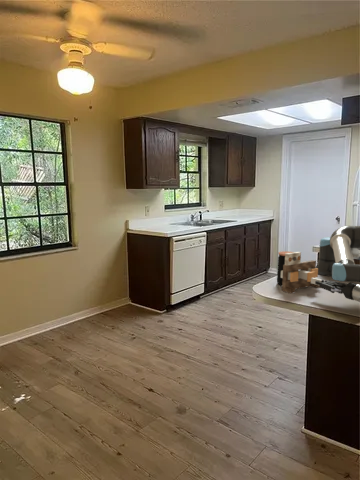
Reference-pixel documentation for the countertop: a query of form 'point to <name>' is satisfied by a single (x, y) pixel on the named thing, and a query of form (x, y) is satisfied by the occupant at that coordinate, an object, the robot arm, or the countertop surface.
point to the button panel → (294, 265)
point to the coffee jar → (281, 265)
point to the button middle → (306, 275)
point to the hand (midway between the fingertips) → (311, 280)
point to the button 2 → (314, 271)
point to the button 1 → (291, 276)
